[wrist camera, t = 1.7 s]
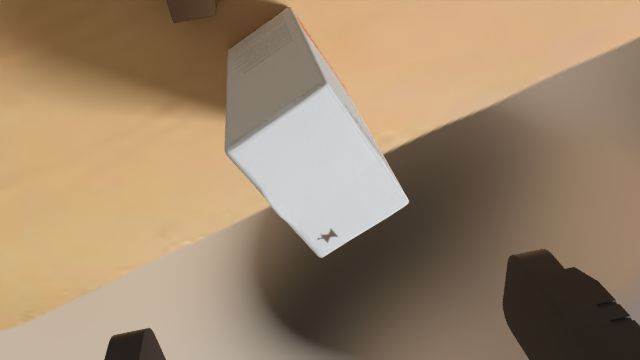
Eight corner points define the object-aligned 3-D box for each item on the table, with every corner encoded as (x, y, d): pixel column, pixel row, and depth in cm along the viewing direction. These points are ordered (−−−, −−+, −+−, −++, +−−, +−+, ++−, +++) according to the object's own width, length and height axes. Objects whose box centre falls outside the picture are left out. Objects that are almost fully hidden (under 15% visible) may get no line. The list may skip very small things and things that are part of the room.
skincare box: (348, 90, 28) (415, 207, 18) (288, 130, 29) (319, 264, 19) (289, -1, 25) (328, 79, 15) (223, 47, 26) (217, 155, 15)
